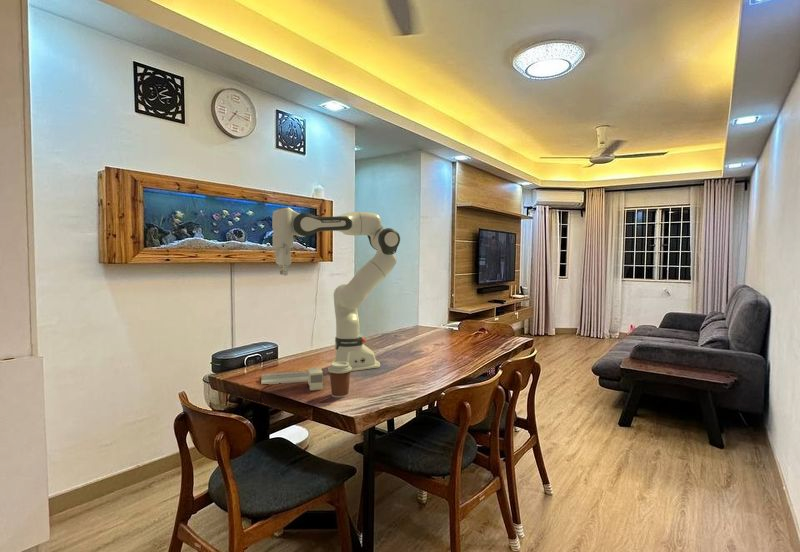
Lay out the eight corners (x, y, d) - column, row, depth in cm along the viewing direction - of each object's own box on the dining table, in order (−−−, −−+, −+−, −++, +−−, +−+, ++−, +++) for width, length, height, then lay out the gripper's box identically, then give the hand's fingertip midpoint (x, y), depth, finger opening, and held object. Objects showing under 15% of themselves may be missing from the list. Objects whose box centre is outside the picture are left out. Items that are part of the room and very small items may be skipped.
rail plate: (308, 373, 188) (308, 367, 188) (311, 381, 177) (311, 375, 177) (261, 377, 183) (261, 371, 182) (261, 385, 171) (261, 379, 171)
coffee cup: (335, 389, 165) (335, 359, 165) (356, 392, 162) (356, 362, 161) (323, 397, 157) (323, 365, 156) (344, 400, 154) (344, 367, 153)
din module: (320, 382, 175) (320, 366, 174) (322, 389, 166) (322, 372, 165) (308, 383, 173) (308, 367, 173) (310, 390, 164) (309, 373, 164)
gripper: (294, 243, 178) (295, 275, 179) (286, 244, 197) (287, 273, 198) (279, 243, 176) (279, 276, 176) (272, 244, 194) (273, 274, 195)
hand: (283, 275), depth 187 cm, fingers open, 8 cm apart
